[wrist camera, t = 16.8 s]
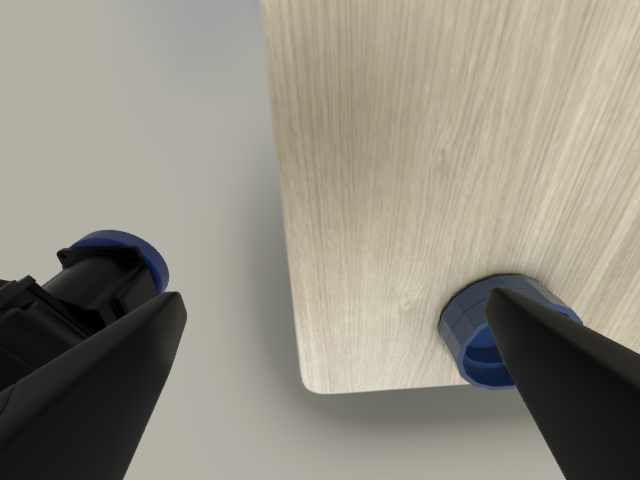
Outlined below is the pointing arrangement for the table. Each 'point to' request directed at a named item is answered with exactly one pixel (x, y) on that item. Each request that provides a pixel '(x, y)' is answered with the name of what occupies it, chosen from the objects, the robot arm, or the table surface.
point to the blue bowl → (487, 330)
